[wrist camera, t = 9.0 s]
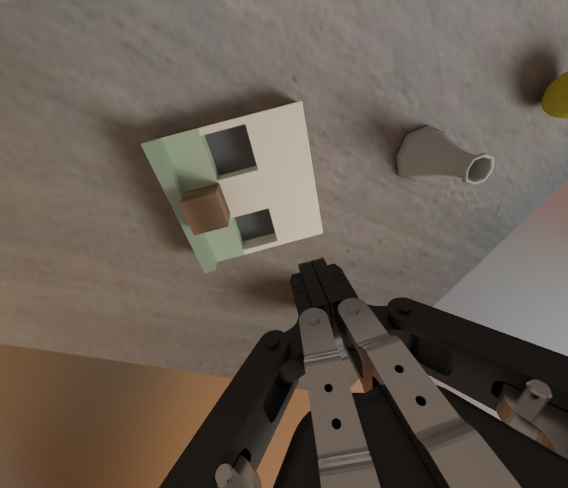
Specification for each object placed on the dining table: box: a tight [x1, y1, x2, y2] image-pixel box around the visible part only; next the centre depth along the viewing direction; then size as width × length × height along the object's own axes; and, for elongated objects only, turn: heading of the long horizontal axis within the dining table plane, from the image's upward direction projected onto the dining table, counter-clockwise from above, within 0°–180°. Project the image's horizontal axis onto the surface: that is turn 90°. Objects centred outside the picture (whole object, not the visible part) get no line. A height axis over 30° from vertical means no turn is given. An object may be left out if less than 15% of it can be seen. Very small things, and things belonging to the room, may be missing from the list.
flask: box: [396, 126, 495, 185], centre depth 29 cm, size 7×7×10 cm
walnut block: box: [179, 183, 230, 235], centre depth 28 cm, size 4×4×4 cm
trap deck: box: [140, 101, 323, 273], centre depth 30 cm, size 17×16×5 cm
